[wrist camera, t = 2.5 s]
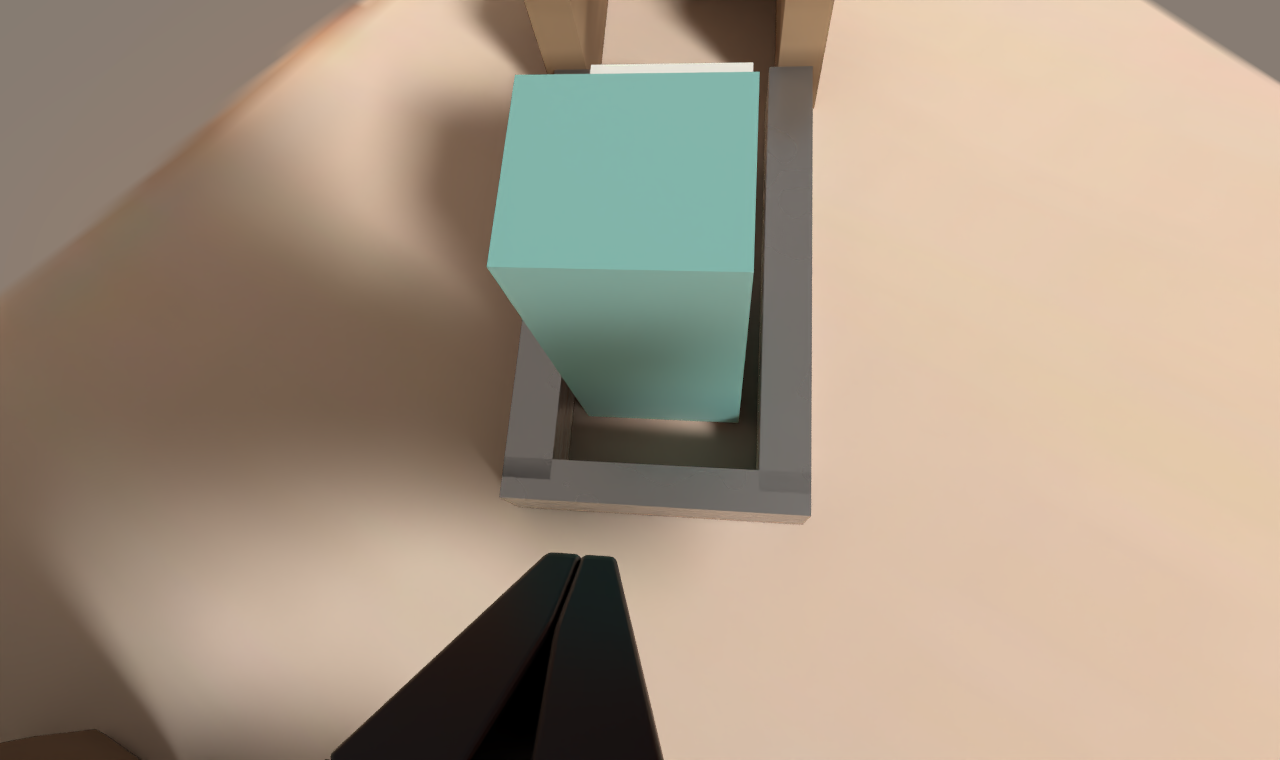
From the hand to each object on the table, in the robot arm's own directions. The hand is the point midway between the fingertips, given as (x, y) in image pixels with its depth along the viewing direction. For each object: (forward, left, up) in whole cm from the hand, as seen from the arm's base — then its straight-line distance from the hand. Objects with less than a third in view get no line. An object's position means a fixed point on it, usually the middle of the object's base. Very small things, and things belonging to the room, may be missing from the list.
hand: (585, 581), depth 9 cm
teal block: (+6, +6, -10) cm, 13 cm away
